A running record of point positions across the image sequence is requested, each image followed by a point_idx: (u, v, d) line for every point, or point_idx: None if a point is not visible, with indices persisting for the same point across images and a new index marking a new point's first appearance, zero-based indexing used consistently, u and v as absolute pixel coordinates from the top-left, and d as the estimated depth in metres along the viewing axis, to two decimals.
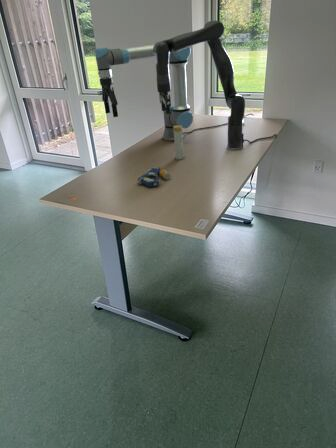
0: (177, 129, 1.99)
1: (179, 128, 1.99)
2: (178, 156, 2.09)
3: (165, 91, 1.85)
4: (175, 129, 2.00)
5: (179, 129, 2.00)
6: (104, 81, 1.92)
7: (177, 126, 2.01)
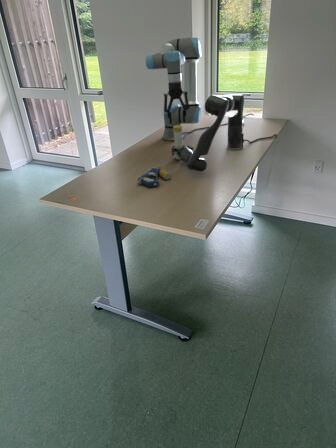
0: (177, 129, 1.99)
1: (179, 128, 1.99)
2: (178, 156, 2.09)
3: None
4: (175, 129, 2.00)
5: (179, 129, 2.00)
6: None
7: (177, 126, 2.01)
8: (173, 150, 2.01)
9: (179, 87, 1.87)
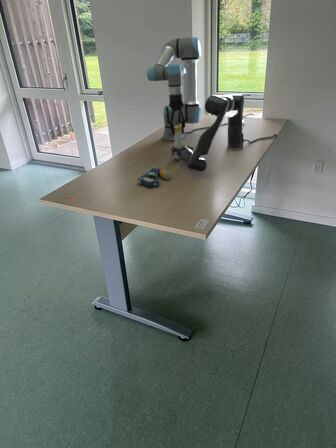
0: (177, 129, 1.99)
1: (179, 128, 1.99)
2: (178, 156, 2.09)
3: None
4: (175, 129, 2.00)
5: (179, 129, 2.00)
6: None
7: (177, 126, 2.01)
8: (173, 150, 2.01)
9: (180, 99, 1.90)
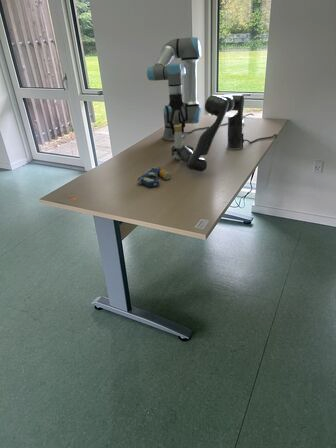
0: None
1: None
2: (178, 156, 2.09)
3: None
4: (181, 128, 2.00)
5: None
6: None
7: (178, 125, 2.01)
8: (173, 150, 2.01)
9: (180, 99, 1.90)
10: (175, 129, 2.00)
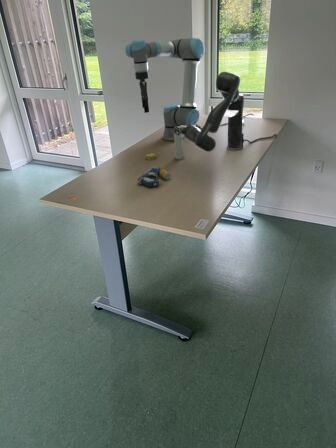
0: None
1: None
2: (178, 156, 2.09)
3: None
4: None
5: None
6: (138, 75, 1.87)
7: (150, 154, 2.14)
8: (178, 129, 1.82)
9: None
10: (154, 157, 2.13)
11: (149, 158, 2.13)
